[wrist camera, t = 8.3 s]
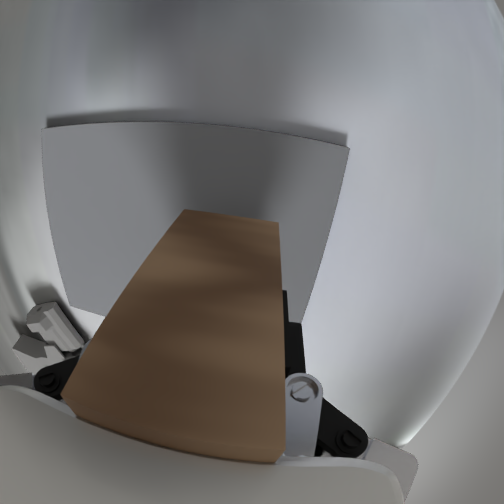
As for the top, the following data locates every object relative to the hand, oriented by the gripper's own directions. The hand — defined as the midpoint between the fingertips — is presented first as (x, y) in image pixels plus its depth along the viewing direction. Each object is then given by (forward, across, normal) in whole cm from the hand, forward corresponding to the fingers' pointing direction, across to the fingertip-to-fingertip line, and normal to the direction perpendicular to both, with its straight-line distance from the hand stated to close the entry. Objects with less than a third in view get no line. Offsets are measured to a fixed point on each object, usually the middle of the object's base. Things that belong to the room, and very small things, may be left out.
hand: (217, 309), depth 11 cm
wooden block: (+2, 0, 0) cm, 2 cm away
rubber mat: (+5, +4, 0) cm, 6 cm away
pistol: (+6, +18, +20) cm, 27 cm away
